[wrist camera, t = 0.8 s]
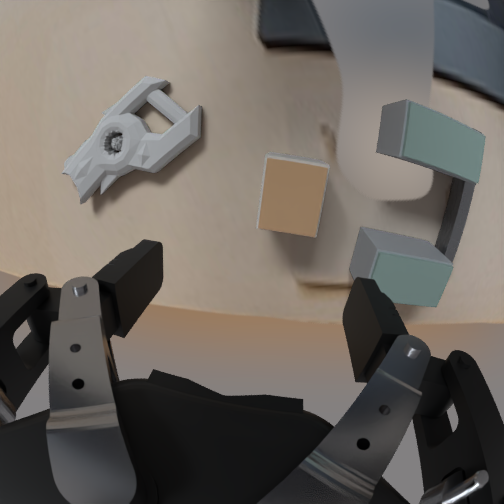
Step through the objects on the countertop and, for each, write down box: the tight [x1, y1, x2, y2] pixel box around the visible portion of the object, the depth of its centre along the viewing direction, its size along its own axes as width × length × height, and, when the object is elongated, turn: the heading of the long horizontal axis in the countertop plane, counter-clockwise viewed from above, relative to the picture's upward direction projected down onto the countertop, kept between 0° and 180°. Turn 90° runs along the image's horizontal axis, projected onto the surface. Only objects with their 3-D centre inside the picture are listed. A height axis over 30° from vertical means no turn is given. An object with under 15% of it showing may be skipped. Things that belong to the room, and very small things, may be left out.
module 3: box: [349, 227, 453, 307], centre depth 25 cm, size 5×9×6 cm, turn 83°
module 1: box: [256, 152, 330, 238], centre depth 23 cm, size 6×5×6 cm
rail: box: [435, 128, 481, 262], centre depth 23 cm, size 20×3×2 cm, turn 173°
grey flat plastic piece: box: [62, 76, 202, 204], centre depth 25 cm, size 18×4×10 cm
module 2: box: [376, 99, 485, 185], centre depth 19 cm, size 5×9×6 cm, turn 83°
